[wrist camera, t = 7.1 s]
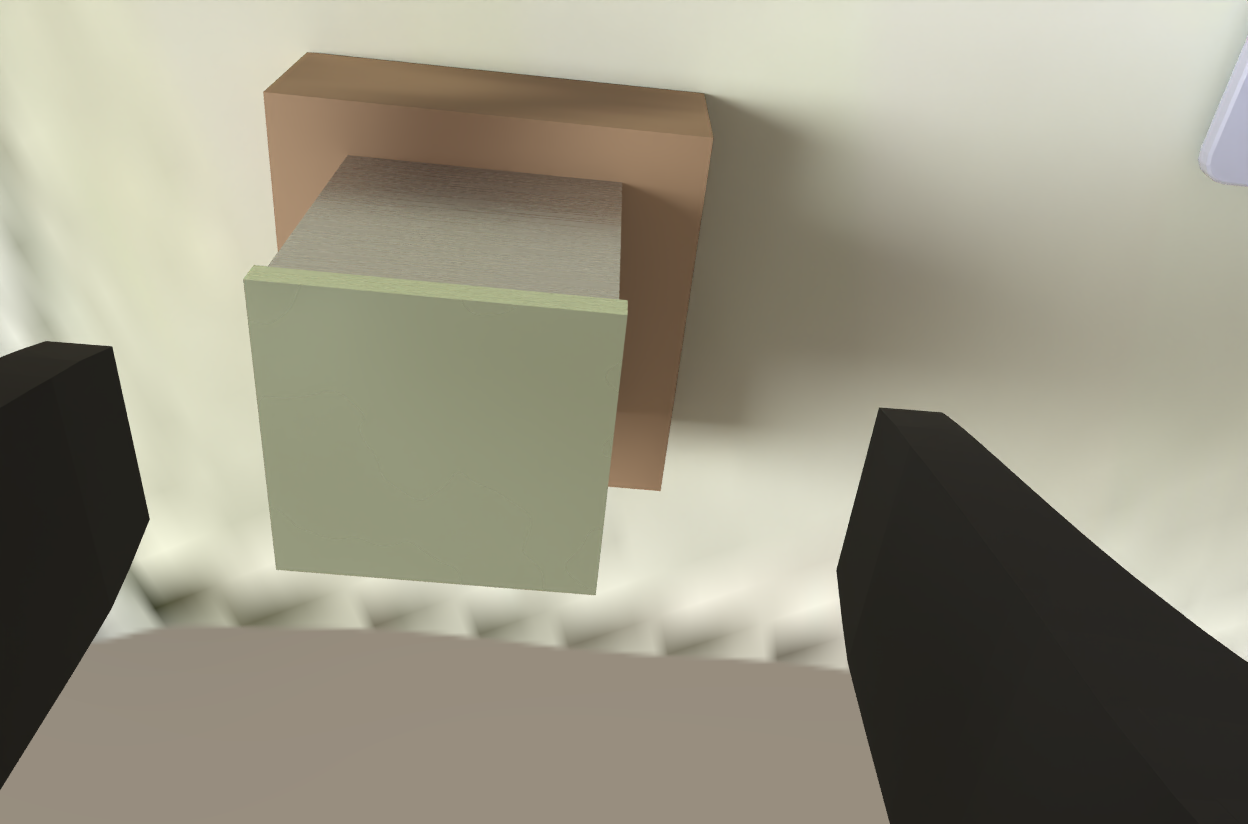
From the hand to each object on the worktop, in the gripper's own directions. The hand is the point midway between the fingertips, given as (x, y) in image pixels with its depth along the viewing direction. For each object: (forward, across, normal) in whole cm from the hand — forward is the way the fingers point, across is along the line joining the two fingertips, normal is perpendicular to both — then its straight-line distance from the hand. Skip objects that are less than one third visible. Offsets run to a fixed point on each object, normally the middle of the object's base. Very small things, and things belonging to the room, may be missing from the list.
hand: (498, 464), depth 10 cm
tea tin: (+8, +1, +2) cm, 8 cm away
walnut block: (+10, +1, +2) cm, 11 cm away
